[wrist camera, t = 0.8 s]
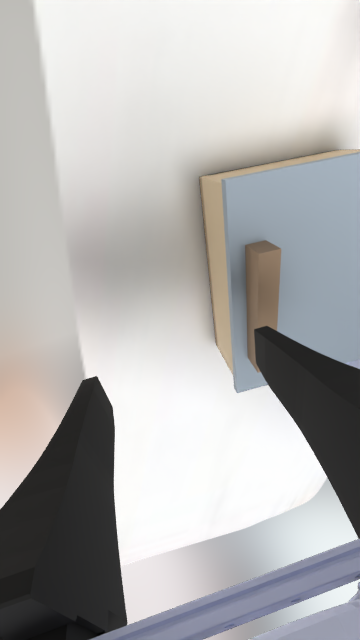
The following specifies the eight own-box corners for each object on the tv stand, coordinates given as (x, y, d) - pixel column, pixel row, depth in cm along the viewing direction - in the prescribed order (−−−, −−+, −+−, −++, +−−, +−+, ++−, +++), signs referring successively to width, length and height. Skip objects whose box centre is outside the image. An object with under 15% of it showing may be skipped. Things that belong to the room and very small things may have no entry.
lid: (358, 353, 22) (380, 371, 20) (234, 387, 21) (245, 409, 19) (414, 141, 14) (458, 139, 12) (221, 179, 13) (238, 183, 11)
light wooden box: (314, 318, 26) (352, 349, 22) (215, 343, 26) (236, 381, 21) (338, 149, 19) (402, 148, 15) (199, 176, 18) (225, 184, 14)
